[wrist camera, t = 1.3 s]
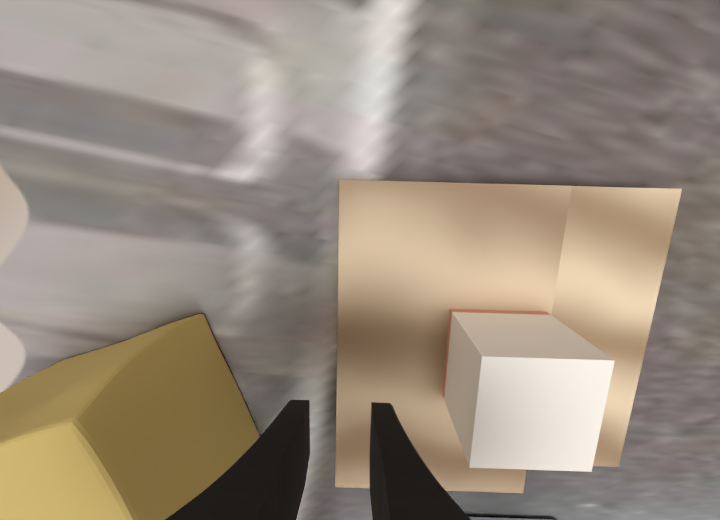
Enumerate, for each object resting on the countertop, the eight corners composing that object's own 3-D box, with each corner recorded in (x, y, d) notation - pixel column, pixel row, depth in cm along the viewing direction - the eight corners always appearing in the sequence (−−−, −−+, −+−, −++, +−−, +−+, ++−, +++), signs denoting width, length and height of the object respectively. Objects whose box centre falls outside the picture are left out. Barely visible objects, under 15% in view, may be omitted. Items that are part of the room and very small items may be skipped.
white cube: (533, 397, 17) (591, 471, 13) (442, 394, 17) (469, 467, 13) (546, 311, 16) (614, 360, 12) (449, 309, 16) (482, 356, 12)
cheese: (134, 487, 24) (-28, 702, 14) (55, 350, 21) (-204, 491, 12) (275, 446, 23) (209, 646, 13) (208, 299, 21) (68, 406, 11)
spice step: (596, 441, 22) (645, 496, 18) (340, 433, 22) (335, 487, 18) (648, 188, 19) (724, 190, 15) (344, 180, 19) (339, 179, 15)
